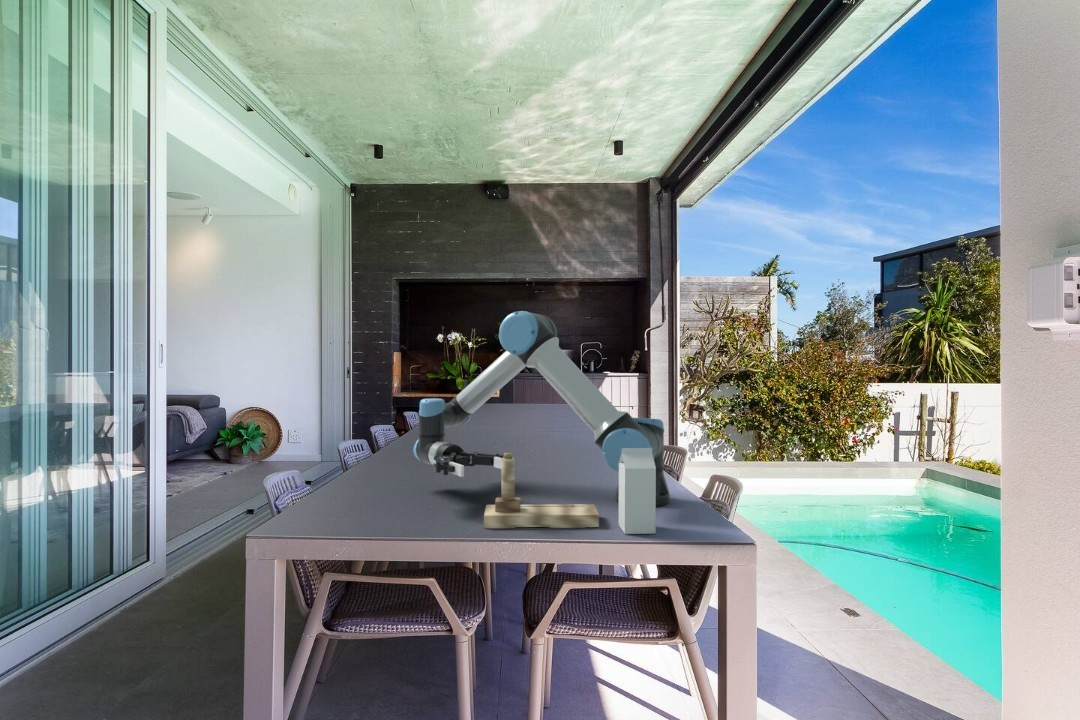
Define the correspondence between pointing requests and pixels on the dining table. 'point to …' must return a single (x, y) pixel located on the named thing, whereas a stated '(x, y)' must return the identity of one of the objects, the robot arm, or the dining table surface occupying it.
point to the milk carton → (637, 491)
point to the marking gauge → (507, 486)
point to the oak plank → (544, 516)
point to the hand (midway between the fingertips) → (486, 468)
